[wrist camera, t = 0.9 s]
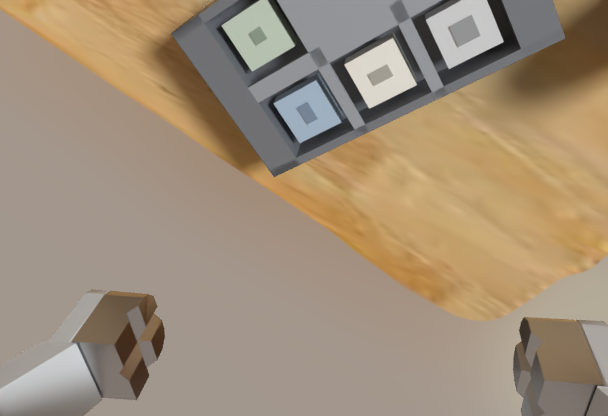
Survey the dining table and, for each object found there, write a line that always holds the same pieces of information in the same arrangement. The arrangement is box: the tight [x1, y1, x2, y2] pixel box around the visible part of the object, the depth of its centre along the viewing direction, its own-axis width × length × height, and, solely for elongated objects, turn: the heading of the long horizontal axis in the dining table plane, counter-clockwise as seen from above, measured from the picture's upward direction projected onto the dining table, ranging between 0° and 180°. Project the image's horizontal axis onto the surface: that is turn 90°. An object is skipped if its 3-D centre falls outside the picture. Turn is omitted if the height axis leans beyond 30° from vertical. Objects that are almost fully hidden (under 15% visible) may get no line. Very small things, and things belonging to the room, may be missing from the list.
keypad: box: [171, 0, 565, 177], centre depth 38 cm, size 14×24×5 cm, turn 122°
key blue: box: [273, 74, 343, 143], centre depth 41 cm, size 4×4×2 cm
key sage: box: [221, 0, 298, 71], centre depth 38 cm, size 4×4×2 cm
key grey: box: [425, 0, 504, 69], centre depth 35 cm, size 4×4×2 cm
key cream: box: [344, 32, 417, 109], centre depth 38 cm, size 4×4×2 cm
